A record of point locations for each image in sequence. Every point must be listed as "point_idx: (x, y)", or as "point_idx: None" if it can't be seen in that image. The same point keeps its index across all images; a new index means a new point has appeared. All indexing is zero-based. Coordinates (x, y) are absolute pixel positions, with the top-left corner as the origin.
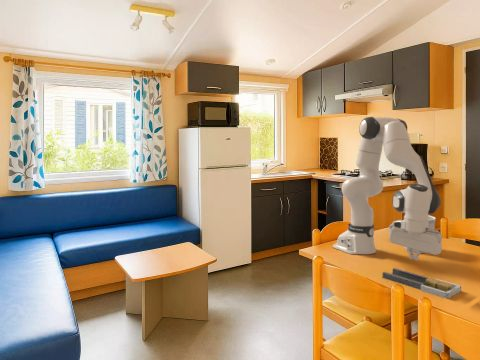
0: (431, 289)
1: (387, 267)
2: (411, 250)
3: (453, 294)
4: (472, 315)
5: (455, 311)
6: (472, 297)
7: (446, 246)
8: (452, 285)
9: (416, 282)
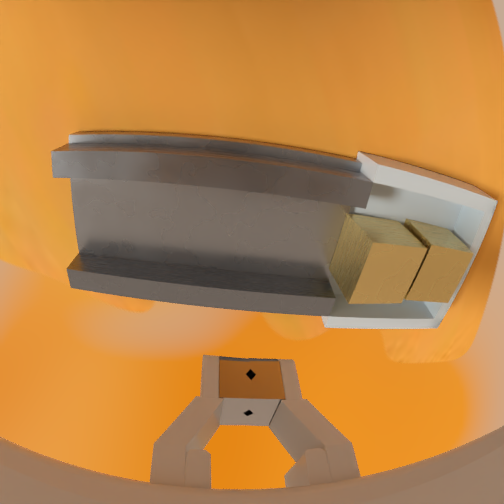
0: (376, 325)
1: (3, 65)
2: (195, 437)
3: None
4: (470, 337)
5: (435, 348)
6: (501, 201)
7: None
8: (469, 251)
9: (293, 308)
